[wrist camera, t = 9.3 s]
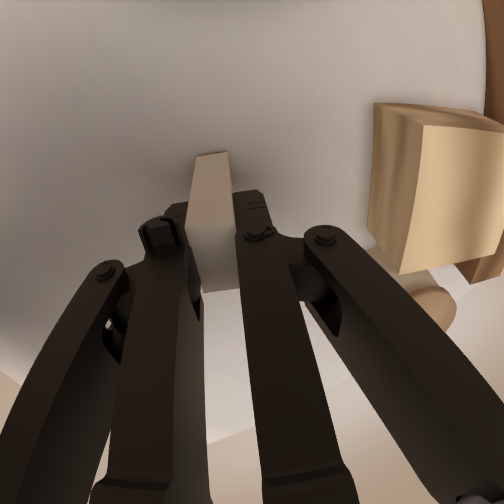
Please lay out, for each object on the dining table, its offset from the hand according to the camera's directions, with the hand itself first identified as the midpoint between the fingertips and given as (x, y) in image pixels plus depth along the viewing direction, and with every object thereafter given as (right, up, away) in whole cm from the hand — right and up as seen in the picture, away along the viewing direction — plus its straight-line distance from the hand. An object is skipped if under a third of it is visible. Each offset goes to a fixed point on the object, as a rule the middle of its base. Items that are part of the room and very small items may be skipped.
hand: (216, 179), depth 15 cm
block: (+13, +2, +2) cm, 13 cm away
